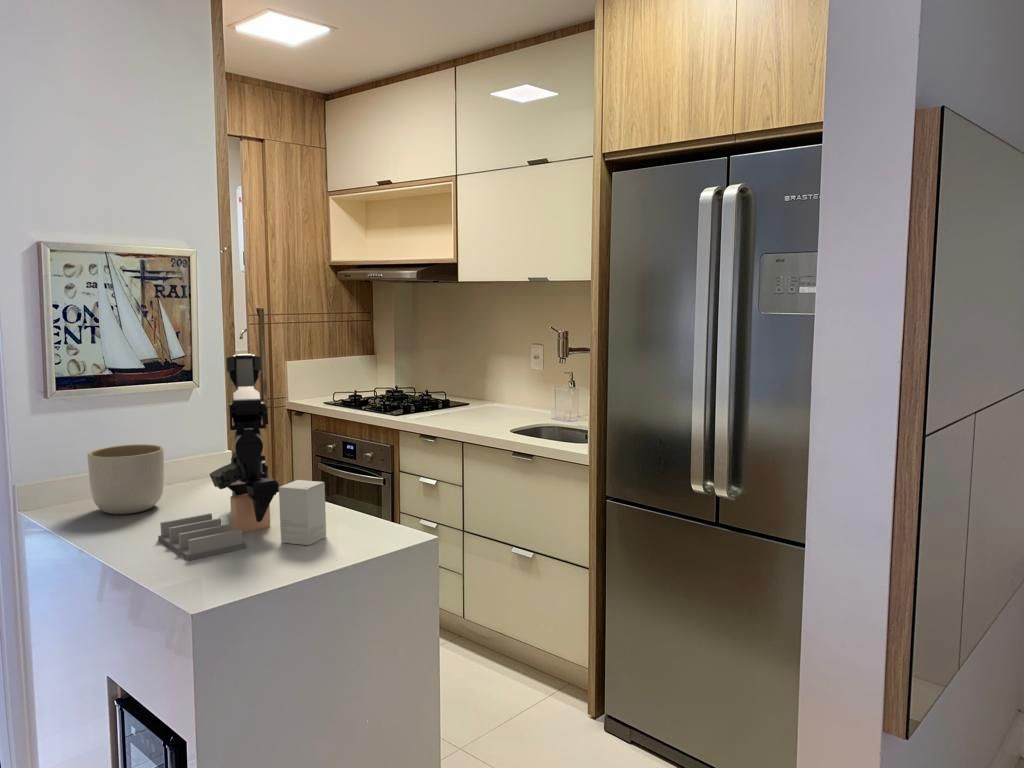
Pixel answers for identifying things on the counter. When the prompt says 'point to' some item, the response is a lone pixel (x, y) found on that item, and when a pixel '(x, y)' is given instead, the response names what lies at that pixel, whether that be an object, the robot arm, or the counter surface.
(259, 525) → the tall clay brick
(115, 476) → the planter
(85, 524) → the counter surface
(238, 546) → the dish rack
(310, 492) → the supplement box
